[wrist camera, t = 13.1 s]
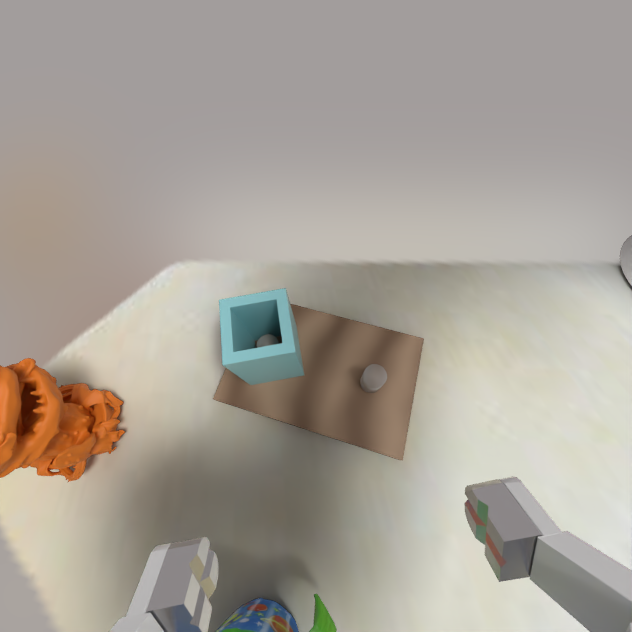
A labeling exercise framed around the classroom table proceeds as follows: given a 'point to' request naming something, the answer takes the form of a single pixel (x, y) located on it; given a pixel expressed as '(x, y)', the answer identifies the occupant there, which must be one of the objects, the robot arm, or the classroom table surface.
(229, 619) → the snack cup
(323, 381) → the pin plate
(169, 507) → the classroom table surface
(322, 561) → the classroom table surface
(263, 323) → the sleeve block
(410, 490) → the classroom table surface
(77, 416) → the orange animal figurine
